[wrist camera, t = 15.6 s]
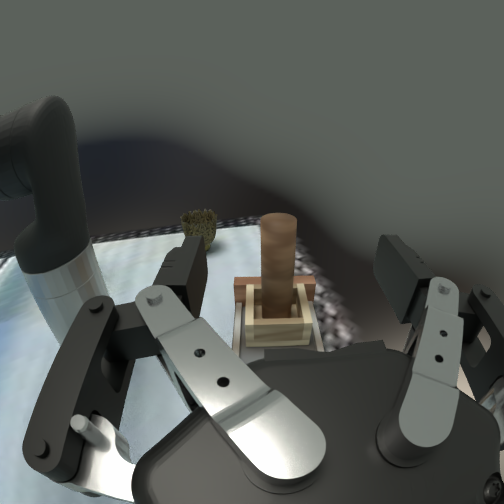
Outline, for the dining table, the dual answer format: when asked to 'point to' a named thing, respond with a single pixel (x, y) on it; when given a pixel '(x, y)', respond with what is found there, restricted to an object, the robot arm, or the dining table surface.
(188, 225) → the cup
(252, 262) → the dining table surface
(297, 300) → the sliding block
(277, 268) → the dowel
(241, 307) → the rail board
